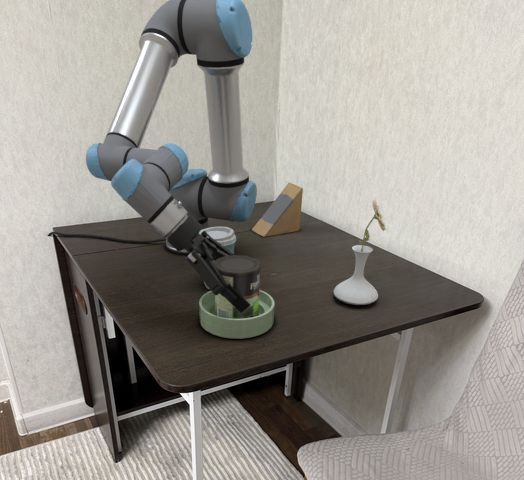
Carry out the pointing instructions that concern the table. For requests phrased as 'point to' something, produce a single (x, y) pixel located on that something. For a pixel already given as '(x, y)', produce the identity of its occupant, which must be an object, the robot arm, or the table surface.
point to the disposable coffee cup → (222, 238)
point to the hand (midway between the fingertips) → (248, 296)
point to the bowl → (236, 326)
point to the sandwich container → (282, 213)
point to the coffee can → (239, 285)
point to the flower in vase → (360, 272)
